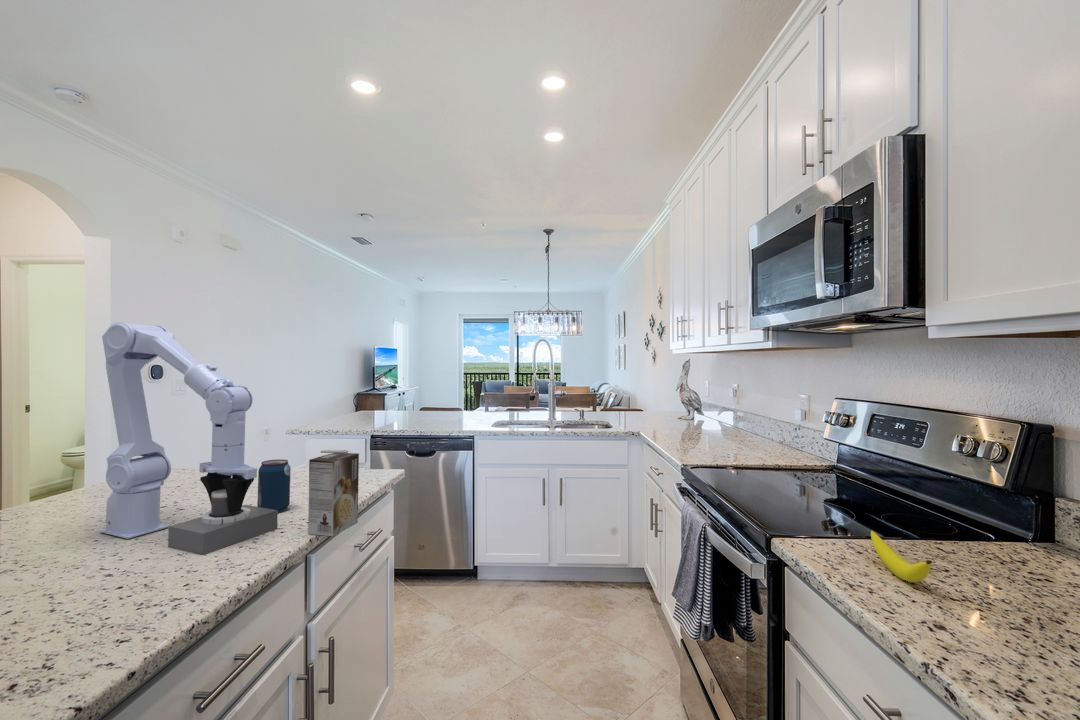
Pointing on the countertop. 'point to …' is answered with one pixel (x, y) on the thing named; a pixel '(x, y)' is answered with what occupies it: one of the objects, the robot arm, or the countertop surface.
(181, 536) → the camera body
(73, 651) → the countertop surface
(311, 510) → the cardboard rectangular box
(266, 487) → the soda can
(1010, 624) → the countertop surface
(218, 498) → the lens
